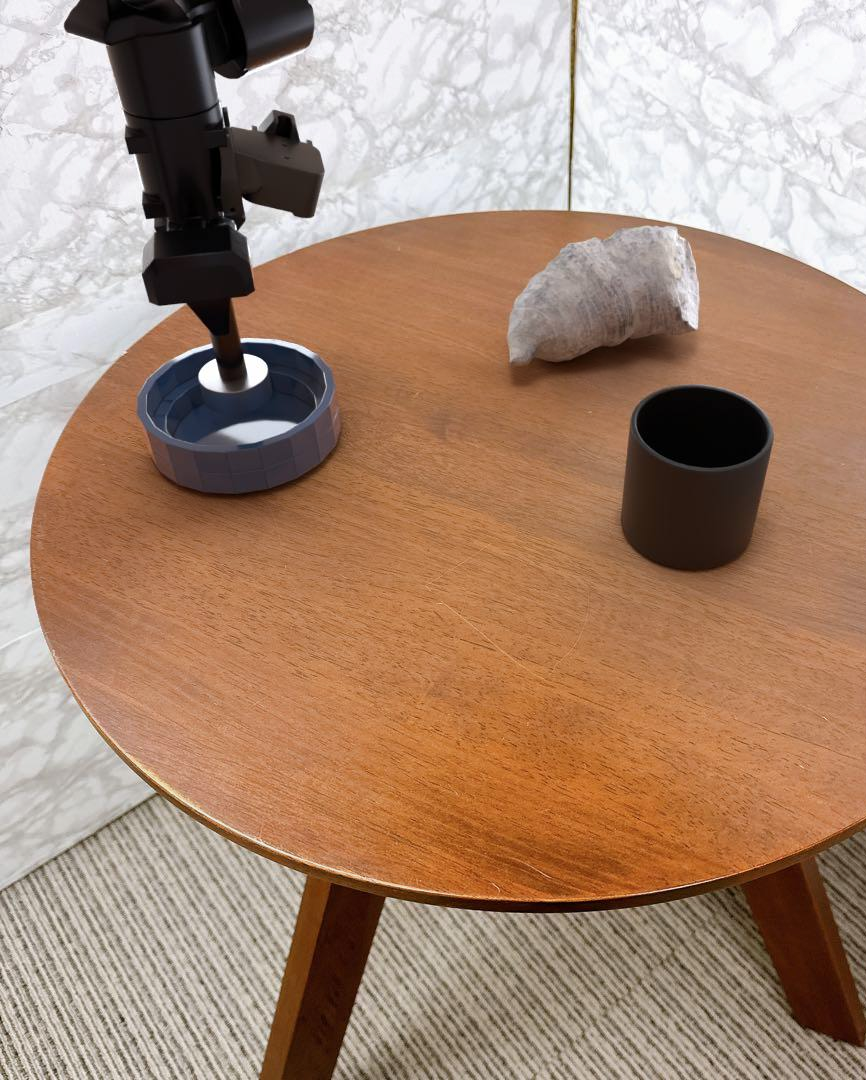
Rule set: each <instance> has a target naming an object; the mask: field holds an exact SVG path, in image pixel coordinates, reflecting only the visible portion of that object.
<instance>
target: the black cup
mask: <svg viewBox="0 0 866 1080" xmlns="http://www.w3.org/2000/svg"><path fill="white" fill-rule="evenodd" d="M628 429H629V430H628V431H629V432H628V440H627V450H626V459H625V468H624V480H623V490H622V491H623V492H622V499H621V509H620V524H621V527H622V531H623V532H624V534H625V536H626V538H627V539H628V541H629V543H630V544H631V546H633V547H634V548H635V549H636V550H637V552H639V553H641V554H642V555H644V556H645V557H647V558H648V559H650V560H651V561H654V562H656V563H657V564H661V565H664V566H668V567H671V568H675V569H680V570H691V571H692V570H694V571H696V570H707V569H713V568H717V567H720V566H722V565H725V564H727V563H729V562H731V561H733V560H734V559H736V558H737V557H739V556H740V555H741V554H742V552H744V551H745V550H746V548H747V547H748V545H749V544H750V542H751V540H752V537H753V534H754V529H755V525H756V521H757V516H758V512H759V508H760V504H761V498H762V494H763V490H764V485H765V481H766V476H767V472H768V467H769V463H770V458H771V454H772V450H773V447H774V446H773V445H774V438H775V433H774V427H773V424H772V422H771V419H770V418H769V416H768V414H767V413H766V412H765V411H764V410H763V409H762V408H761V407H760V406H759V405H757V404H756V403H755V402H754V401H753V400H751V399H750V398H747V397H746V396H744V395H742V394H740V393H737V392H735V391H732V390H730V389H727V388H724V387H719V386H715V385H709V384H708V385H707V384H695V383H692V384H687V383H686V384H677V385H671V386H668V387H664V388H661V389H658V390H655V391H653V392H652V393H650V394H648V395H646V396H645V397H644V398H642V399H641V400H640V402H638V403H637V405H636V406H635V407H634V409H633V411H632V413H631V416H630V420H629V428H628Z"/></svg>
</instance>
